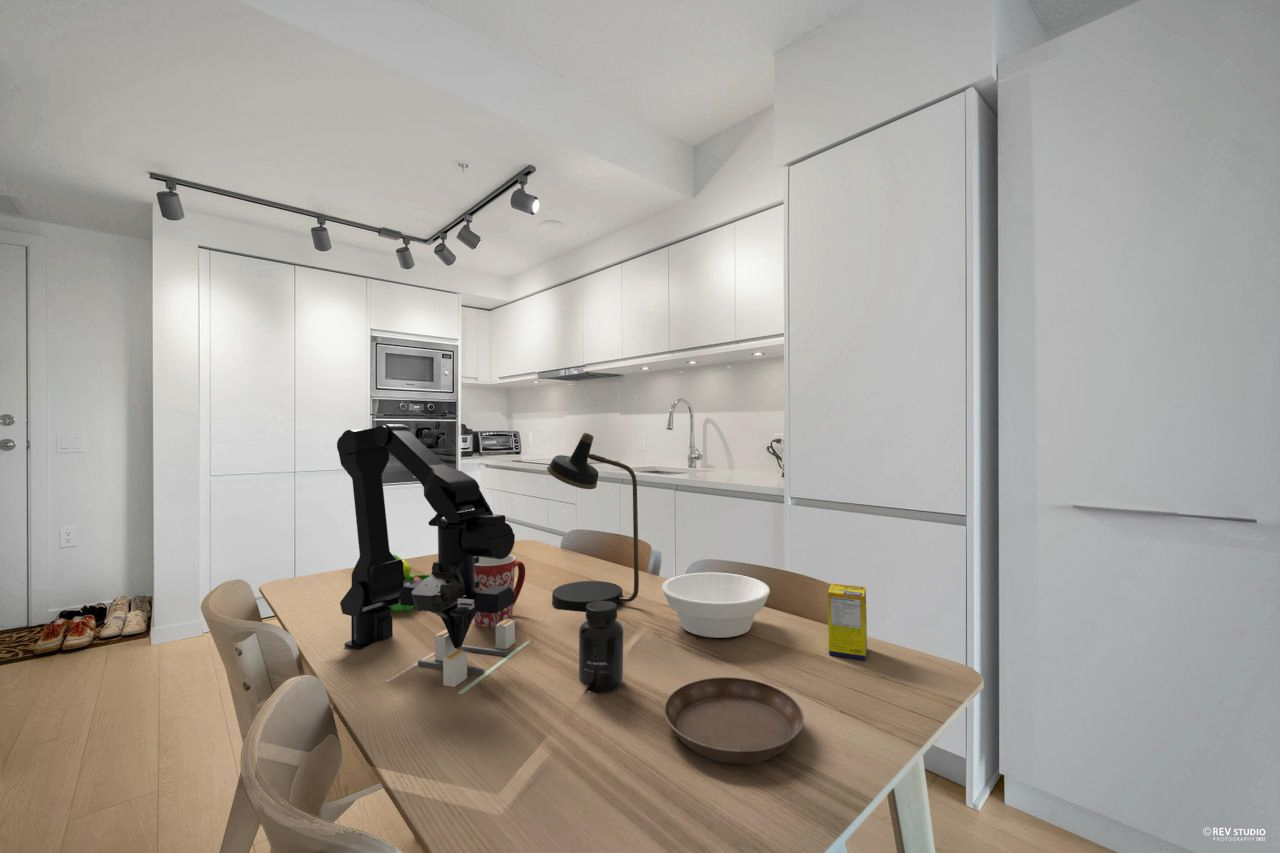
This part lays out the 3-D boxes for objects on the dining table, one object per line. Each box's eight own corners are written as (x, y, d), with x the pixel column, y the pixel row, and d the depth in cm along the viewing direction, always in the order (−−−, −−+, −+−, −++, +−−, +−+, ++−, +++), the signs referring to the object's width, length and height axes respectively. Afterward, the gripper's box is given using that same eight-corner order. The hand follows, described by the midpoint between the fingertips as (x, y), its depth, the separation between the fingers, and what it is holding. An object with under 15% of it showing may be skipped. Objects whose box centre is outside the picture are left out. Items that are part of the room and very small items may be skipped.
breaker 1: (443, 685, 79) (443, 656, 79) (455, 676, 82) (455, 648, 82) (454, 686, 79) (454, 658, 79) (467, 677, 82) (466, 650, 82)
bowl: (646, 640, 99) (645, 595, 99) (680, 605, 118) (680, 568, 119) (760, 657, 91) (760, 609, 91) (777, 617, 111) (777, 577, 111)
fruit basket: (413, 612, 115) (413, 560, 115) (372, 613, 115) (372, 560, 115) (434, 596, 127) (434, 548, 127) (397, 596, 127) (397, 549, 127)
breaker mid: (434, 660, 88) (434, 634, 88) (446, 652, 91) (446, 628, 91) (445, 661, 88) (444, 635, 88) (456, 654, 90) (456, 629, 90)
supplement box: (867, 648, 94) (866, 586, 94) (866, 661, 89) (865, 595, 89) (831, 642, 97) (830, 582, 97) (828, 655, 91) (827, 591, 91)
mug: (489, 638, 100) (488, 567, 100) (460, 628, 105) (459, 560, 106) (539, 619, 110) (538, 554, 110) (510, 611, 116) (510, 548, 116)
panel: (379, 692, 80) (378, 680, 80) (468, 637, 101) (468, 627, 101) (458, 705, 76) (458, 693, 76) (534, 645, 97) (534, 635, 97)
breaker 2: (495, 648, 93) (495, 624, 93) (505, 641, 96) (504, 618, 96) (505, 649, 92) (505, 625, 92) (514, 642, 95) (514, 619, 95)
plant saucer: (708, 793, 57) (708, 764, 57) (642, 713, 74) (642, 691, 74) (835, 752, 64) (835, 726, 64) (749, 688, 81) (749, 667, 81)
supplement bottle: (588, 698, 77) (588, 615, 77) (572, 679, 83) (571, 602, 83) (631, 687, 80) (630, 608, 81) (612, 669, 87) (611, 595, 87)
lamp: (568, 587, 132) (567, 432, 133) (651, 596, 125) (649, 432, 125) (533, 607, 117) (532, 433, 118) (624, 619, 110) (623, 432, 110)
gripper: (373, 561, 84) (375, 661, 84) (476, 568, 78) (477, 675, 78) (422, 547, 94) (424, 635, 94) (515, 552, 89) (517, 646, 89)
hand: (457, 647), depth 89 cm, fingers closed
